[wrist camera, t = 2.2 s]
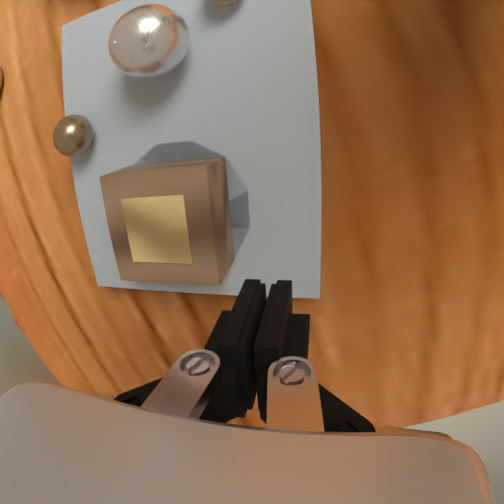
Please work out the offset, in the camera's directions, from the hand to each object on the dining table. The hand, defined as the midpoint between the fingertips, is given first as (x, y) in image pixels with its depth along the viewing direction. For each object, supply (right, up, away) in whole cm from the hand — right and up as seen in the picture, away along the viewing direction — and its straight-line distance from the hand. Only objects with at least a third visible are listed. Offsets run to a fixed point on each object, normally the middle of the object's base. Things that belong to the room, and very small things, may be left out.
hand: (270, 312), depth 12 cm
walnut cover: (-7, +6, +14) cm, 17 cm away
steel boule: (-8, +17, +6) cm, 20 cm away
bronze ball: (-16, +13, +11) cm, 24 cm away
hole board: (-6, +13, +15) cm, 20 cm away
